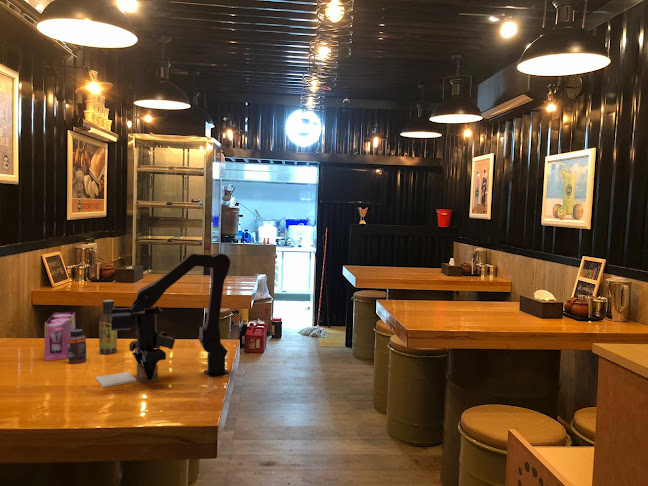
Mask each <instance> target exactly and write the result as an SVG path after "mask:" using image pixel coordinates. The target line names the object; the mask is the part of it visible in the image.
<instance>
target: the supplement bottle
mask: <svg viewBox="0 0 648 486" xmlns="http://www.w3.org/2000/svg"><path fill="white" fill-rule="evenodd" d="M83 331H84V330H83V329H81V328H75V330H71V331H70V334H71V335H70V337H68V359H67V361H68V363H69V364H82V363H84V362H86V361H87V337H86V335H84V332H83Z"/></svg>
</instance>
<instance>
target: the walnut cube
mask: <svg viewBox="0 0 648 486" xmlns="http://www.w3.org/2000/svg"><path fill="white" fill-rule="evenodd" d="M158 370H159V366H158V365H157V364H156V367H155V370H154V374H153V377H152V379H151V380H148V378H147V376H146V373H145V371H144V368H143V365H142V364H137V363H136V379H137V382H139V384H141V385H145V384H151V383H156V382H159V374H158V373H159V371H158Z"/></svg>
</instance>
